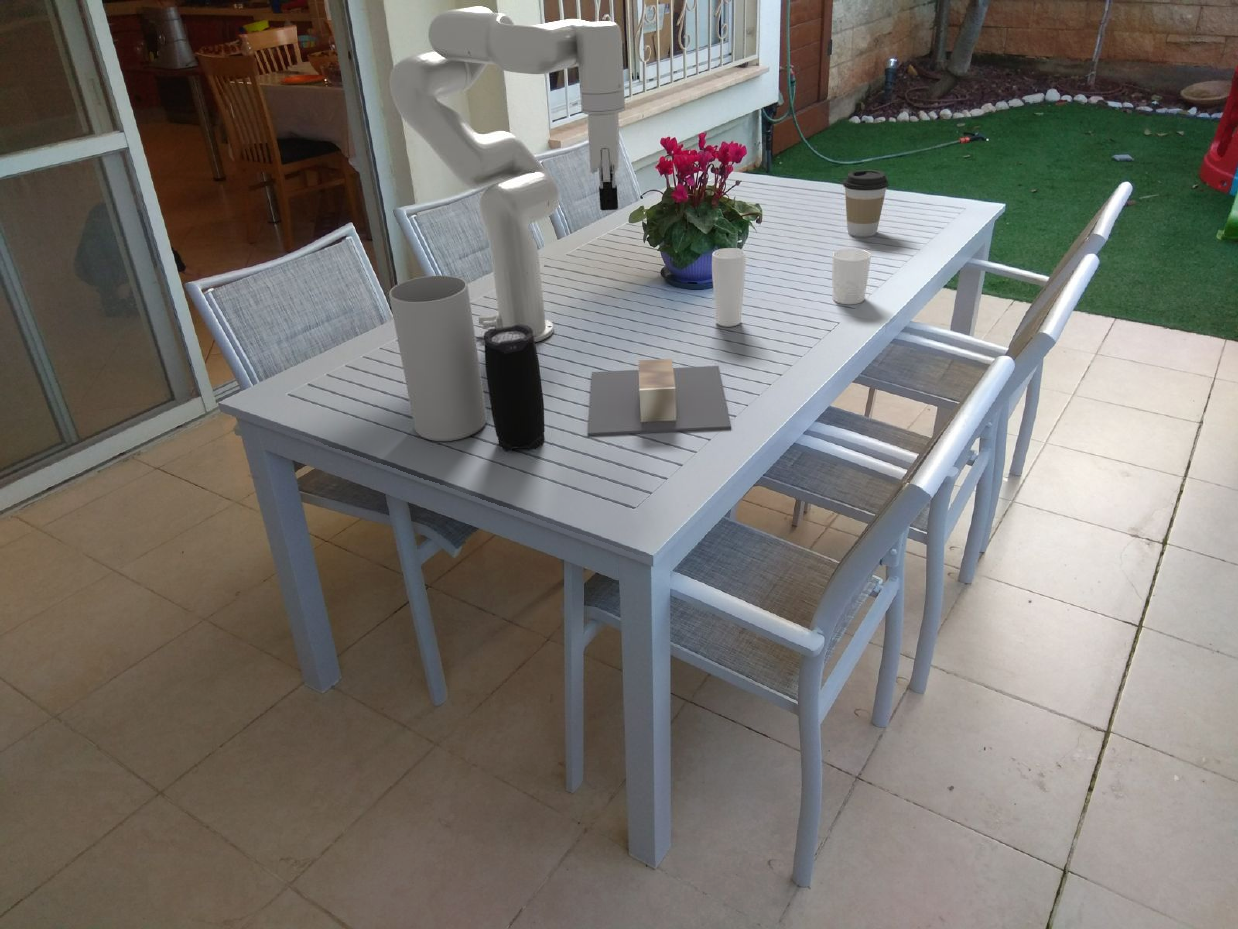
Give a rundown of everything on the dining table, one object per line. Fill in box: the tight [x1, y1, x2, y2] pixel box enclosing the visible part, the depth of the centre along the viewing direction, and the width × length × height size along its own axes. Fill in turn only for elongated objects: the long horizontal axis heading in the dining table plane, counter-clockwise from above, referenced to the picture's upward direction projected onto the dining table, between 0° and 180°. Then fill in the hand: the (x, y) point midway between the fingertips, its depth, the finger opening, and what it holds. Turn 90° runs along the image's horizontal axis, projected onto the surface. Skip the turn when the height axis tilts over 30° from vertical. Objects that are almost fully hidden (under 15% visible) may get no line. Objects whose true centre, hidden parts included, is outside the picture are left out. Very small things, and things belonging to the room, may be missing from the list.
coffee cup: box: [842, 169, 890, 238], centre depth 238 cm, size 11×11×15 cm
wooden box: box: [637, 358, 676, 422], centre depth 162 cm, size 6×6×12 cm
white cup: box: [831, 248, 872, 305], centre depth 200 cm, size 8×8×10 cm
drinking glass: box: [711, 247, 747, 328], centre depth 191 cm, size 7×7×15 cm
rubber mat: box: [587, 365, 732, 437], centre depth 166 cm, size 24×24×1 cm
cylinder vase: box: [388, 274, 488, 442], centre depth 156 cm, size 12×12×25 cm
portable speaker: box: [483, 324, 545, 452], centre depth 150 cm, size 9×9×20 cm
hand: (609, 208), depth 168 cm, fingers closed
